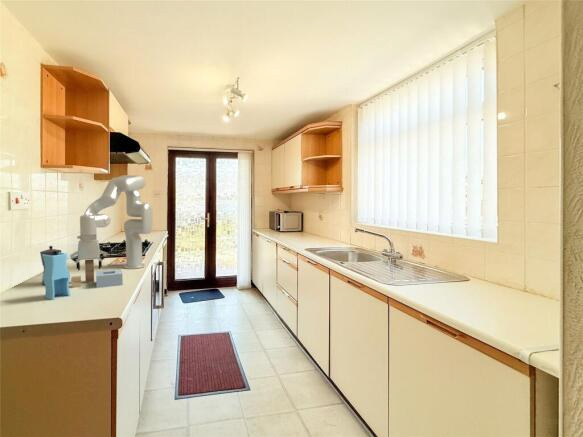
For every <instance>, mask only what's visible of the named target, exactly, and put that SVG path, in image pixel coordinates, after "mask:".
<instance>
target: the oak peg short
mask: <svg viewBox="0 0 583 437" xmlns="http://www.w3.org/2000/svg"><path fill="white" fill-rule="evenodd" d="M70 280H71V282H70V283H71V289H72V288H73V289H75V288H81V287H82V277H81V275H76V276H71V277H70Z"/></svg>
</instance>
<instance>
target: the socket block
mask: <svg viewBox="0 0 583 437" xmlns="http://www.w3.org/2000/svg"><path fill="white" fill-rule="evenodd" d="M122 271H123V270H122V269H121V268H120V269H110V270H99V271H97V270H96V271H95V278H96V279H95V281H96V284H95V285H96V289H99V288H107V287H108V288H109V287H117V286H123V285H124V284H123V272H122Z"/></svg>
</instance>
